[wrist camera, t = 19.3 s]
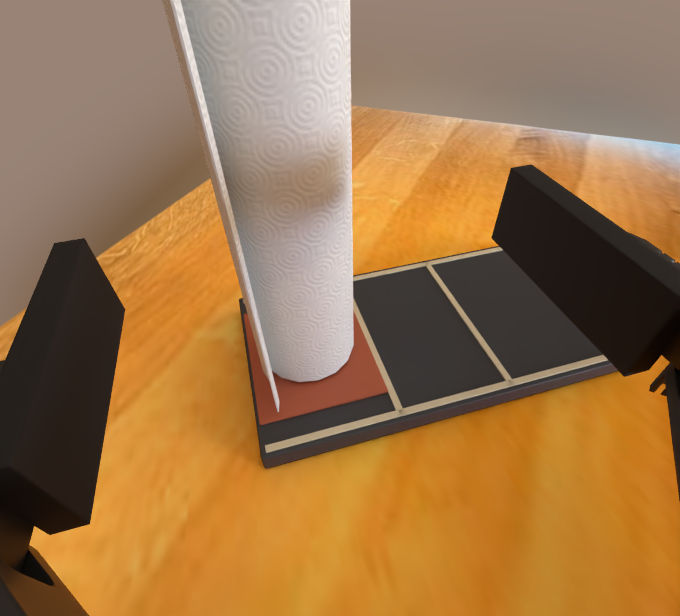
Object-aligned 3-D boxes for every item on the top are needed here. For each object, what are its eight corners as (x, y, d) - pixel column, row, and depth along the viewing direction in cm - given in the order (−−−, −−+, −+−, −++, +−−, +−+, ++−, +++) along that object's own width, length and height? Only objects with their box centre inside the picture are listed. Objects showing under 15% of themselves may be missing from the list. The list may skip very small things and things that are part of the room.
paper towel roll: (317, 301, 29) (274, -134, 14) (373, 350, 26) (394, -155, 11) (228, 351, 26) (56, -139, 11) (278, 414, 23) (126, -171, 8)
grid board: (508, 254, 35) (512, 240, 34) (621, 370, 26) (631, 357, 25) (241, 309, 31) (238, 296, 30) (265, 469, 22) (260, 458, 21)
